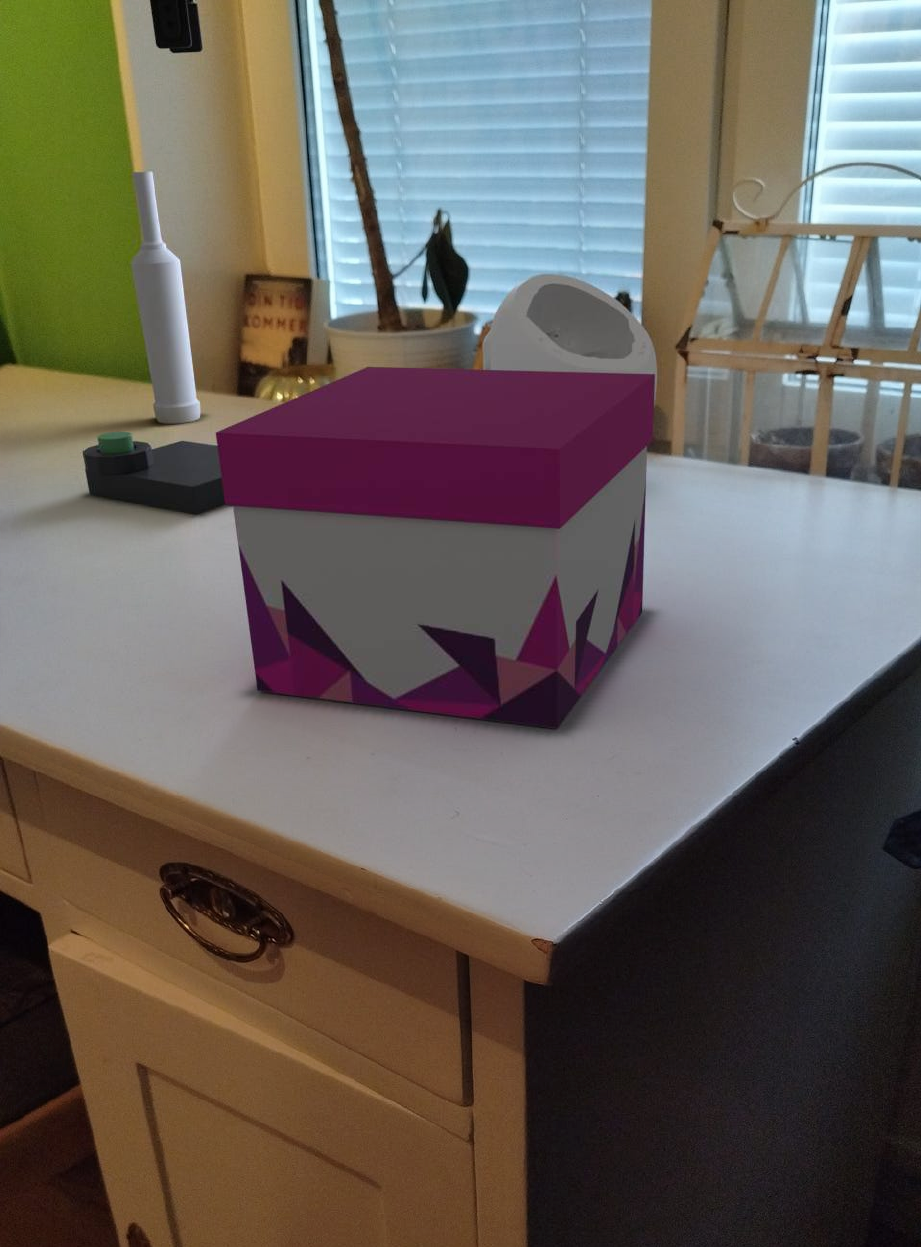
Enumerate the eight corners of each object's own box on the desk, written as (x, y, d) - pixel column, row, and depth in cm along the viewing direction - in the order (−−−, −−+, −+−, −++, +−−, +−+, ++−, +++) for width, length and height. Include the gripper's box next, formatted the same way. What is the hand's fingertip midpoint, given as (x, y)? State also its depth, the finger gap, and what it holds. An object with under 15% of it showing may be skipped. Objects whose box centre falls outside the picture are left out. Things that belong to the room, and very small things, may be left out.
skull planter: (574, 416, 126) (612, 238, 111) (647, 556, 116) (701, 382, 100) (443, 431, 123) (463, 250, 107) (506, 577, 113) (539, 401, 97)
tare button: (93, 454, 113) (90, 437, 113) (119, 447, 116) (116, 430, 115) (115, 458, 112) (112, 440, 111) (141, 450, 114) (138, 433, 113)
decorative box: (384, 588, 89) (367, 367, 82) (647, 612, 83) (655, 374, 75) (250, 693, 74) (215, 432, 67) (560, 733, 67) (559, 448, 60)
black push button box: (78, 496, 115) (69, 452, 113) (182, 464, 124) (176, 423, 122) (188, 517, 107) (181, 470, 105) (291, 481, 116) (286, 437, 114)
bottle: (147, 424, 142) (107, 174, 129) (167, 414, 146) (130, 171, 134) (190, 424, 140) (154, 172, 128) (209, 414, 145) (175, 170, 132)
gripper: (123, -156, 119) (153, 56, 127) (90, -195, 104) (126, 48, 112) (203, -160, 119) (228, 52, 127) (182, -199, 104) (211, 44, 112)
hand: (180, 50), depth 120 cm, fingers open, 9 cm apart
